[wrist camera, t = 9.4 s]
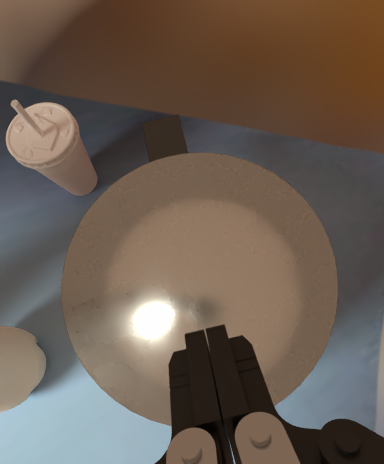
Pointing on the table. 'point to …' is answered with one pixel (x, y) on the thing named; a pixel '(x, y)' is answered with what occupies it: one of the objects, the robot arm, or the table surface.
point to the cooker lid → (196, 272)
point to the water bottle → (18, 366)
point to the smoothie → (51, 146)
